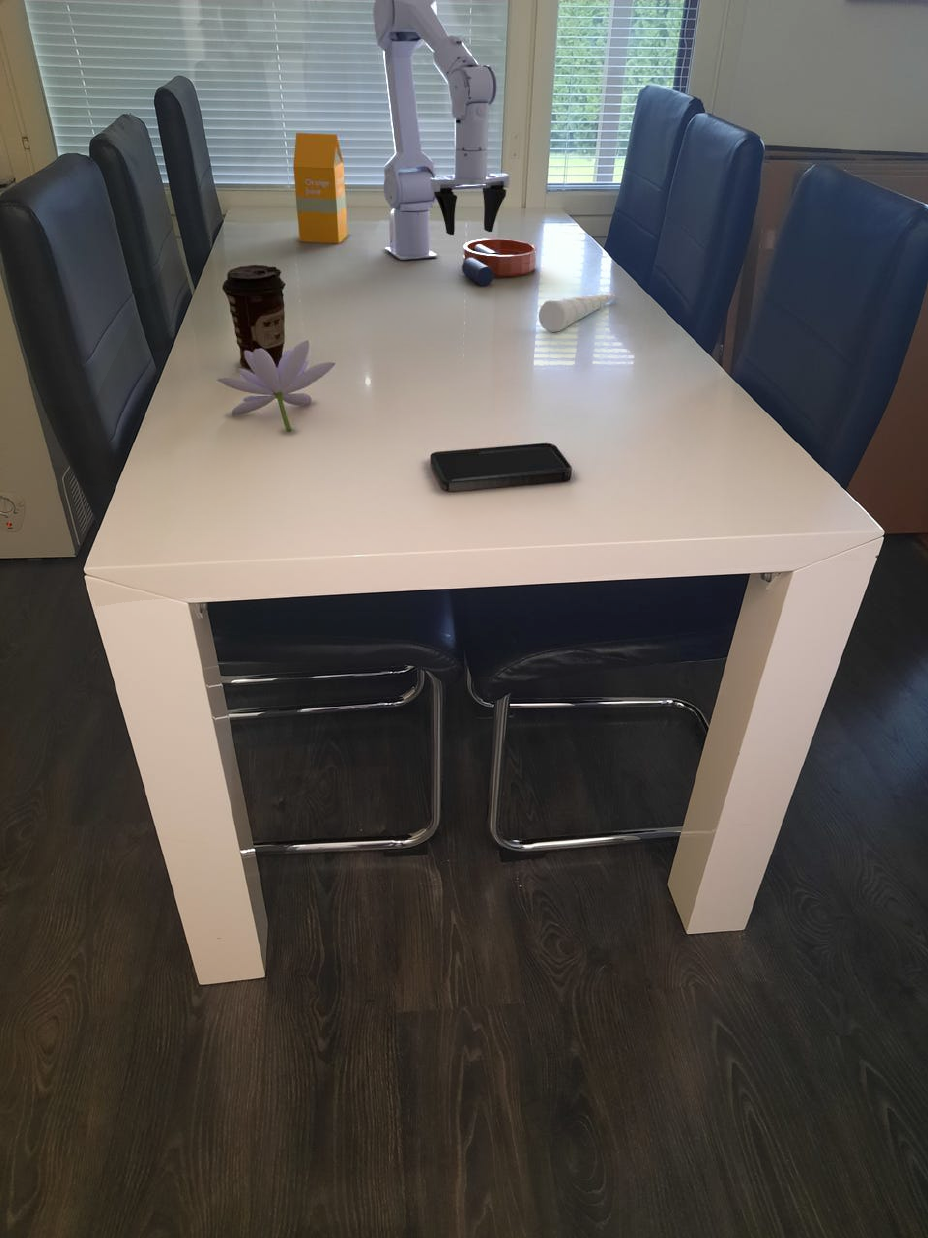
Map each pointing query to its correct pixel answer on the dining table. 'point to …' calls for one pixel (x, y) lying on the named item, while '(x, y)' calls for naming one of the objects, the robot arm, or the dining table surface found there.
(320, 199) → the orange juice
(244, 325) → the coffee cup
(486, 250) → the black cylinder
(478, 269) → the navy tube
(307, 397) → the water lily
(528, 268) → the bowl
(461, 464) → the phone
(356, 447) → the dining table surface
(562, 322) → the unicorn horn
